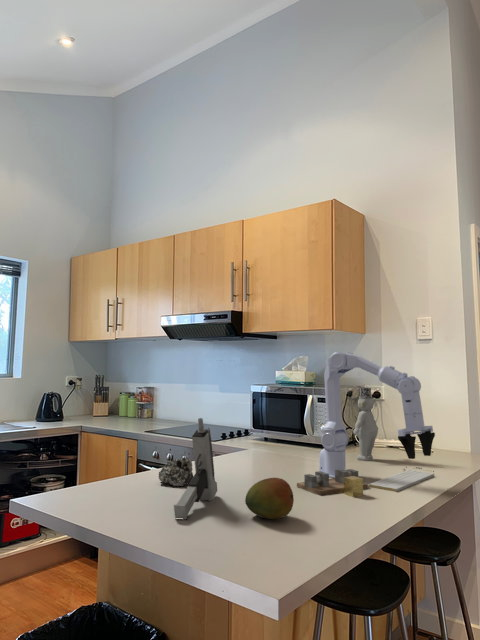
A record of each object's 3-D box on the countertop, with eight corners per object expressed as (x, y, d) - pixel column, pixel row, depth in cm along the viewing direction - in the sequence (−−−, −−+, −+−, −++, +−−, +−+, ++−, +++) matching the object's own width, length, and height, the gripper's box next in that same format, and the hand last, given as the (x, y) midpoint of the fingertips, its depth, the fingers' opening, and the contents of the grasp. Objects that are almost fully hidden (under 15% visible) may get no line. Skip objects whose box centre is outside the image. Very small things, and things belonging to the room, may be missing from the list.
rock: (205, 488, 159) (199, 460, 165) (192, 479, 152) (186, 450, 158) (169, 502, 161) (165, 474, 167) (155, 494, 153) (151, 465, 160)
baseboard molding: (361, 487, 157) (396, 494, 149) (361, 478, 157) (396, 484, 149) (402, 472, 180) (434, 477, 172) (402, 464, 180) (434, 469, 172)
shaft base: (296, 486, 155) (296, 470, 155) (342, 480, 164) (342, 465, 164) (320, 495, 144) (319, 478, 145) (367, 488, 153) (367, 472, 154)
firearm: (164, 452, 117) (197, 411, 141) (174, 540, 122) (204, 486, 146) (181, 453, 116) (212, 412, 140) (191, 541, 121) (219, 487, 144)
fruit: (288, 527, 114) (288, 484, 115) (238, 522, 118) (238, 480, 119) (297, 514, 125) (297, 474, 126) (251, 509, 129) (251, 471, 130)
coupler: (343, 494, 146) (343, 477, 147) (354, 492, 148) (353, 476, 149) (352, 497, 143) (352, 479, 143) (363, 495, 145) (362, 478, 145)
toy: (368, 455, 213) (367, 387, 216) (387, 458, 207) (385, 387, 210) (346, 460, 200) (345, 388, 203) (365, 463, 194) (364, 388, 197)
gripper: (408, 415, 149) (414, 460, 147) (438, 411, 157) (444, 454, 154) (390, 416, 155) (396, 459, 153) (420, 412, 163) (426, 454, 160)
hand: (419, 457), depth 154 cm, fingers open, 7 cm apart
